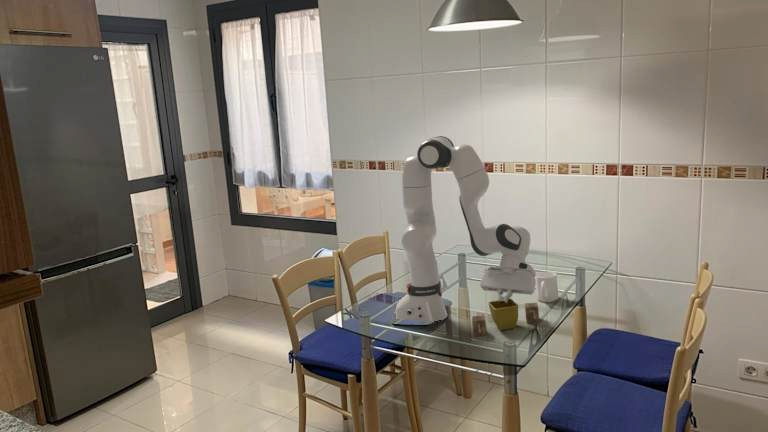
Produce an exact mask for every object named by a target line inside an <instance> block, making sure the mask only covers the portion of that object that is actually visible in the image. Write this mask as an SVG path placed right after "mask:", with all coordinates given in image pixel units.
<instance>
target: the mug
mask: <svg viewBox="0 0 768 432" xmlns="http://www.w3.org/2000/svg"><path fill="white" fill-rule="evenodd" d="M534 278H535V280H536V285H535V291H536V298H537V299H536V300H538V302H541V303H553V301H554V302H556V301H558V299H559V289H558V275H557V273H556V272H555V271H554V272H553V271H541V272H537V273H536V276H535V277H534ZM555 300H556V301H555Z"/></svg>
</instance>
